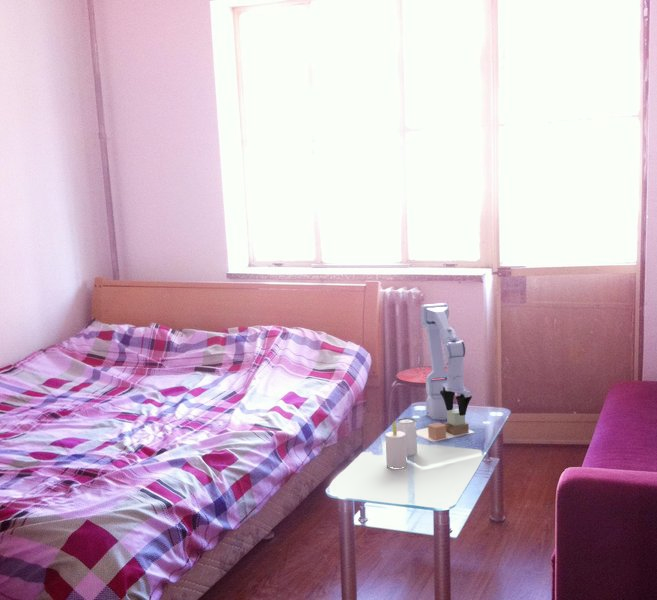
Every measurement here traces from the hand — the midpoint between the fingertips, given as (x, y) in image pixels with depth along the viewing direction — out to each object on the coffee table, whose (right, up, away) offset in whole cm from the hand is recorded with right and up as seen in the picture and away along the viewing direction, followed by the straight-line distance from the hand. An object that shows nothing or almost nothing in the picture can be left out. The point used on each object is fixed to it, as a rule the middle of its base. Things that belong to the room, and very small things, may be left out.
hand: (456, 412), depth 272 cm
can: (-19, -12, -18) cm, 28 cm away
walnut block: (0, -7, +1) cm, 7 cm away
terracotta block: (-7, -8, -4) cm, 12 cm away
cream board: (-4, -8, +2) cm, 9 cm away
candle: (-23, -13, -26) cm, 38 cm away
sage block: (0, -4, 0) cm, 4 cm away
